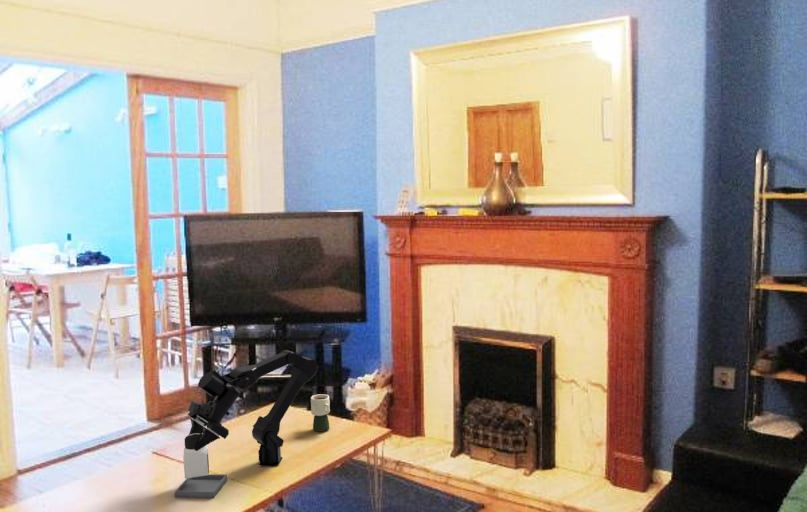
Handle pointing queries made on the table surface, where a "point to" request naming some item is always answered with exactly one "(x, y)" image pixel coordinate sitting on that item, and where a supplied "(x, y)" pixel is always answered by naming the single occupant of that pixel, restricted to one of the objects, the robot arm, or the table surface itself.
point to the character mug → (320, 411)
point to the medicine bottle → (195, 458)
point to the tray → (201, 486)
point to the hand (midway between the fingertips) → (191, 447)
